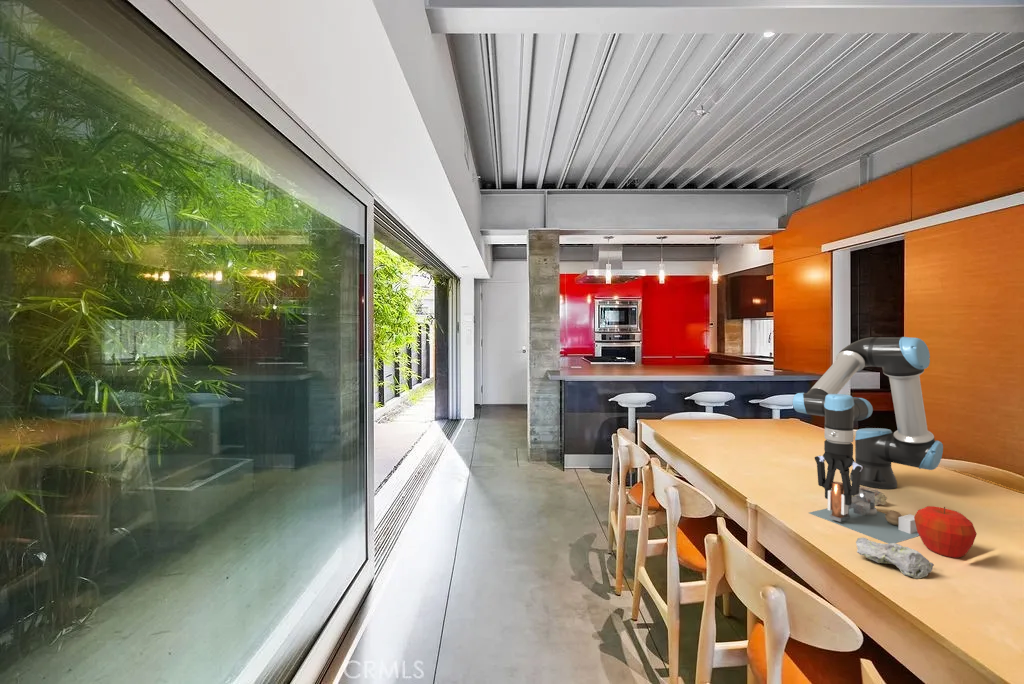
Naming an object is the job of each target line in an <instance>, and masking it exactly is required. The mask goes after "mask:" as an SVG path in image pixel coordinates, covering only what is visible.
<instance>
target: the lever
mask: <svg viewBox="0 0 1024 684" xmlns="http://www.w3.org/2000/svg"><path fill="white" fill-rule="evenodd" d="M831 489H832V514H830V519H833V520H836V521H839V522H842V521H845V520H848V519H850V515H849V509H851V508H854V513H856V514H859V515H865V514H868V513H870V509H874V508H876V506H875V493H874V492H872V491H868V490H863V489H859V494H857V495H856V496H854V497H852V504H851V505H848V514H846V515H842V514H841V496H842V494H844V489H843V483H842V481H841V482H840V481H833V482H832V488H831Z"/></svg>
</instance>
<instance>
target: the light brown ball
mask: <svg viewBox="0 0 1024 684" xmlns="http://www.w3.org/2000/svg"><path fill="white" fill-rule="evenodd" d="M885 514H886V515H885V518H886V520H887V521H888V522H889V523H890V524H892V525H899V517H901V516H903V515H902V514H901V513H900V512H898V511H896V510H889V511H887V512H885Z"/></svg>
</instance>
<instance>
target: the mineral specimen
mask: <svg viewBox="0 0 1024 684" xmlns="http://www.w3.org/2000/svg"><path fill="white" fill-rule="evenodd" d="M855 544H856V548H857V550H856V553H858V554H859V556H864V557H866V559H869V560H871V561H873V562H875V563H878V564H880V563H881V564H882V565H883V564H885V565H886V564H888V565H893V566H896V568H898V569H899V571H900V572H901V574H903V575H904V576H906V577H911V578H912V579H914V580H915V579H921V578H925V577H927V576H928V575H929V573H932V571H933V569H934V566H935V564H934V563H933V562H930V560H929V559H927V558H926V557H925V556H924V555H923V554H922V553H921V552H919V551H918V550H916V549H913V548H910V547H909V546H903V545H901V544H898V543H890V544H888V543H881V542H876V541H872V540H869V539H868V538H866V537H858V538H857V539H856V540H855Z"/></svg>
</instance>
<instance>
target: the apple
mask: <svg viewBox="0 0 1024 684" xmlns="http://www.w3.org/2000/svg"><path fill="white" fill-rule="evenodd" d="M914 519H915V524H916V528H917V532H918V534H919V536H918V537H920V539H921V541H922V544H923V545H924V546H925V547H926V548H928V550H929V551H931V552H933V553H935V554H937V555H940V556H942V557H946V558H952V559H955V558H961V557H964V556H966V555H967V553H968V552H969V551H970V549H971V547H973V545H974V543H975V539H976V537H977V535H978V534H977V532H976V529H975V526H974V524H973V522H972V521H971V520H970V519H968V517H967V516H965V515H963V513H961V512H959V511H957V510H953V509H949V508H946V506H943V507H939V506H934V505H931V506H929V505H928V506H926V507H923V508H920V509H918V510H917V511H916V513H915V515H914Z"/></svg>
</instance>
